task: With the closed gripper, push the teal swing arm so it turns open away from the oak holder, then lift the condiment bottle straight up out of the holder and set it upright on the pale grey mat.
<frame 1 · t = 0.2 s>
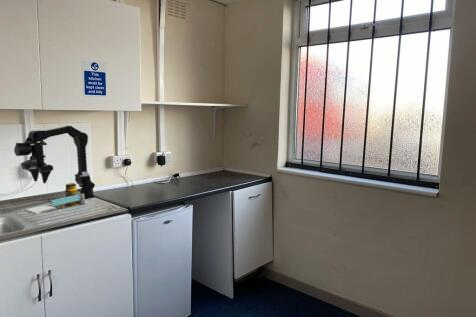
hand: (40, 182, 198), 14 cm above the countertop, tool pointing down, fingers open, 9 cm apart
swing arm: (66, 200, 197), point 5 cm above the countertop, hinge at 0.0°
mat: (41, 209, 194), on the countertop
holder: (69, 204, 204), on the countertop
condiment: (70, 205, 204), resting in holder
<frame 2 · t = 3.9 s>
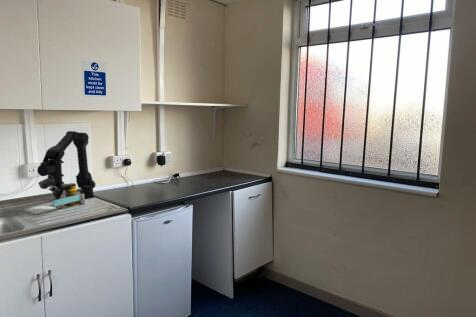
hand: (57, 201, 193), 5 cm above the countertop, tool pointing down, fingers closed
swing arm: (67, 200, 196), point 5 cm above the countertop, hinge at 4.2°, touching gripper
everything else where it was.
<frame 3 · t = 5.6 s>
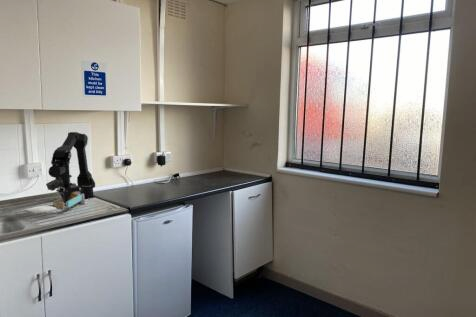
hand: (65, 203, 189), 5 cm above the countertop, tool pointing down, fingers closed
swing arm: (74, 200, 195), point 5 cm above the countertop, hinge at 33.4°
everything else where it was.
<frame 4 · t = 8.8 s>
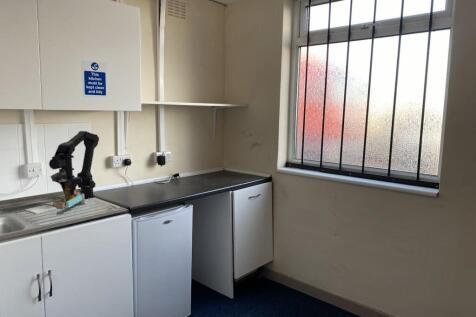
hand: (68, 194, 203), 6 cm above the countertop, tool pointing down, fingers open, 6 cm apart
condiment: (69, 205, 204), resting in holder, touching gripper
everything else where it was.
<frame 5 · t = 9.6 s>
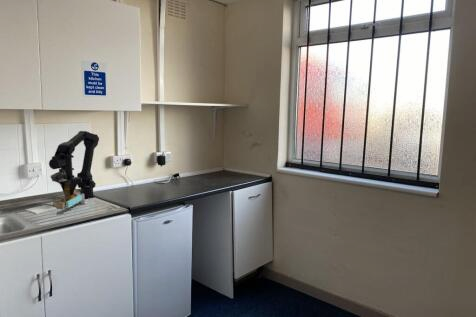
hand: (68, 194, 203), 6 cm above the countertop, tool pointing down, fingers closed on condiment, 6 cm apart
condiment: (69, 204, 204), resting in holder, touching gripper
everything else where it was.
when the fingers open (8 cm above the countertop, at t = 13.2 s): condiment drops 1 cm, resting on mat.
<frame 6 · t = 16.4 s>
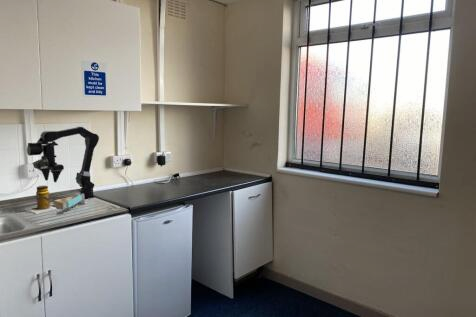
hand: (50, 181, 205), 13 cm above the countertop, tool pointing down, fingers open, 9 cm apart
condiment: (41, 208, 195), resting on mat
everything else where it was.
at the end: swing arm at +34° (first picture: +0°); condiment inside the target area on the mat (0.4 cm from its centre), point 0.4 cm above the mat's base; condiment tilted 0° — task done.
